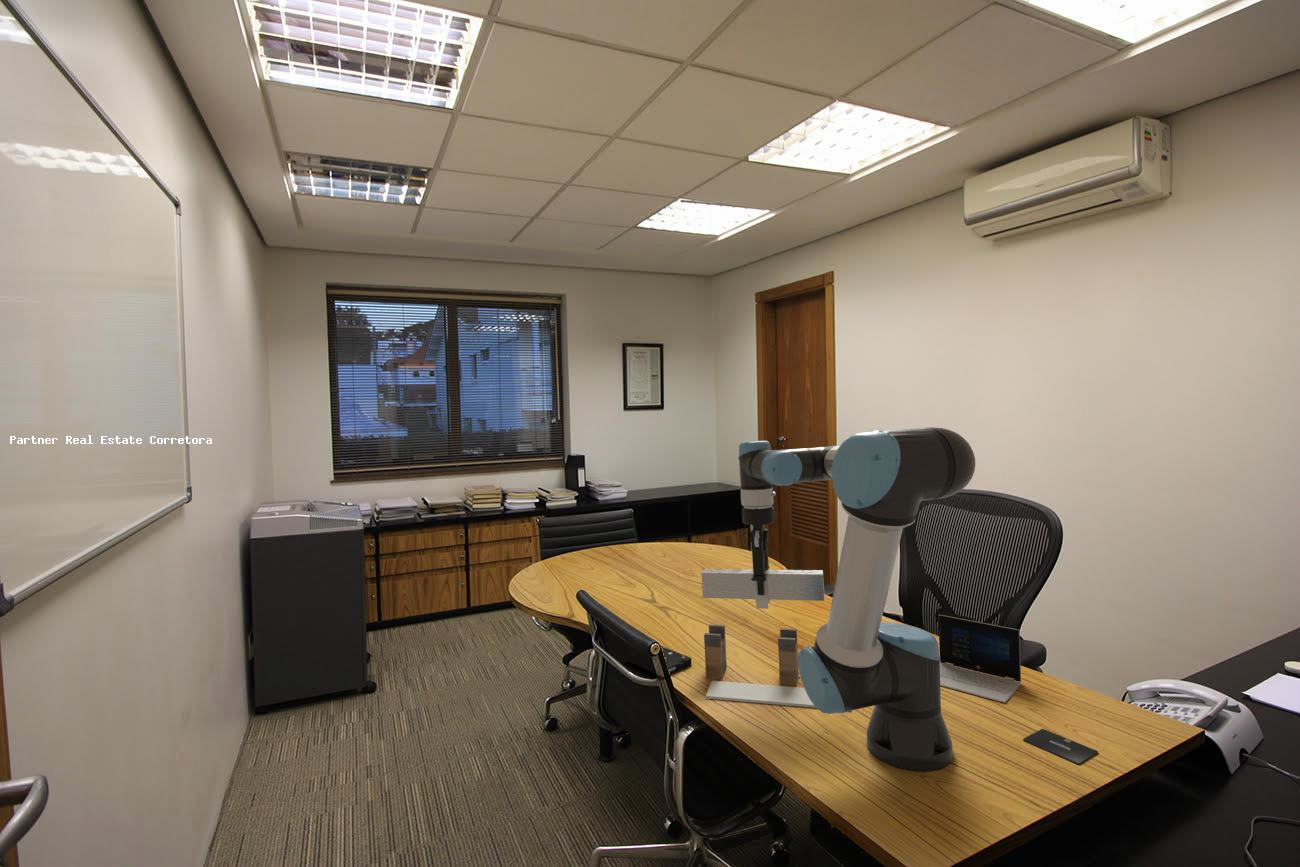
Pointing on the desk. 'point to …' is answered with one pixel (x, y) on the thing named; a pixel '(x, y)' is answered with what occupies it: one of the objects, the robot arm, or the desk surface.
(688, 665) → the disk drive
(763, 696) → the mat
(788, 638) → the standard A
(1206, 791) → the desk surface
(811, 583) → the rail
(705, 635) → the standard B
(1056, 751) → the solid state drive
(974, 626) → the laptop
